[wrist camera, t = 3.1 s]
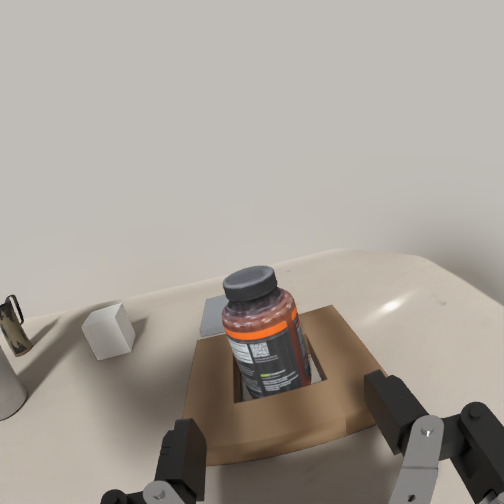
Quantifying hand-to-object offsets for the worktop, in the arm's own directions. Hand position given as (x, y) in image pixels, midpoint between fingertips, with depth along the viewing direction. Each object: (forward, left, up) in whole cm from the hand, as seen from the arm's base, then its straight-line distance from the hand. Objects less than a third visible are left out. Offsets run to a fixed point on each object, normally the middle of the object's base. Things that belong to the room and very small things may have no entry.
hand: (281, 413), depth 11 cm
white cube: (-34, +9, -8) cm, 36 cm away
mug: (-62, -3, -8) cm, 63 cm away
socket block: (-6, +9, -8) cm, 14 cm away
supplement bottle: (-6, +9, -8) cm, 14 cm away
